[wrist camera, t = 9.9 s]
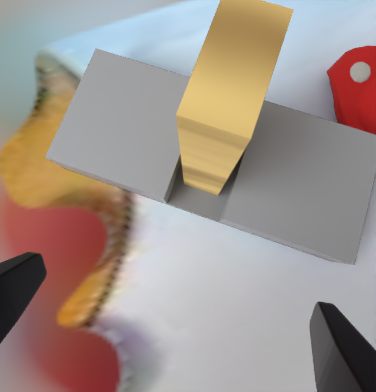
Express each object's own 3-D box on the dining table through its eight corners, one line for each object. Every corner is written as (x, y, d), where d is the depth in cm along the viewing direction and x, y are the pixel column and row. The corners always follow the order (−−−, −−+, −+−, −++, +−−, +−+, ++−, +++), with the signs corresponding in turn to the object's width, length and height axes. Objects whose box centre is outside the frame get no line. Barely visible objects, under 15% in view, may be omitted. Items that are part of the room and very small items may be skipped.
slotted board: (331, 261, 21) (354, 264, 18) (64, 168, 22) (45, 157, 20) (358, 151, 22) (383, 137, 19) (107, 72, 24) (95, 48, 21)
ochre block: (217, 195, 21) (250, 138, 10) (184, 184, 22) (175, 114, 10) (239, 132, 22) (293, 9, 11) (206, 121, 23) (224, -11, 11)
